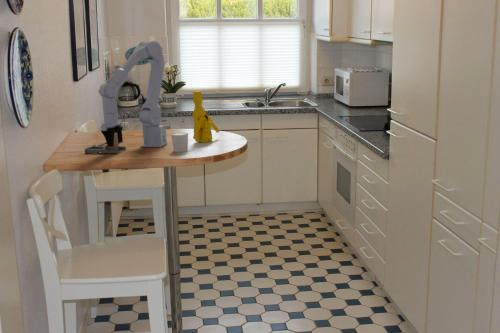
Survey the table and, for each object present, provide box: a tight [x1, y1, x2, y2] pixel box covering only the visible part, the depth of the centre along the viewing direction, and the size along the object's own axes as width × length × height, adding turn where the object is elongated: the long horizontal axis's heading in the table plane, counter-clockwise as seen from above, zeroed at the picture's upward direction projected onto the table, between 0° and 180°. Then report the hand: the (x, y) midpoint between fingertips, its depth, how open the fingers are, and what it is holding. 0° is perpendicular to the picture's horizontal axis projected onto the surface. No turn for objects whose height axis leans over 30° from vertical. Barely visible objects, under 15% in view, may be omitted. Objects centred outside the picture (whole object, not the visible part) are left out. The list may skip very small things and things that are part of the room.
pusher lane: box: [84, 144, 127, 154], centre depth 263 cm, size 15×8×2 cm, turn 75°
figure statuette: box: [192, 90, 221, 144], centre depth 274 cm, size 18×8×22 cm, turn 145°
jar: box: [108, 132, 120, 151], centre depth 262 cm, size 4×4×7 cm
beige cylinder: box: [171, 132, 189, 153], centre depth 258 cm, size 7×7×7 cm
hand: (113, 145), depth 262 cm, fingers closed on jar, 4 cm apart
